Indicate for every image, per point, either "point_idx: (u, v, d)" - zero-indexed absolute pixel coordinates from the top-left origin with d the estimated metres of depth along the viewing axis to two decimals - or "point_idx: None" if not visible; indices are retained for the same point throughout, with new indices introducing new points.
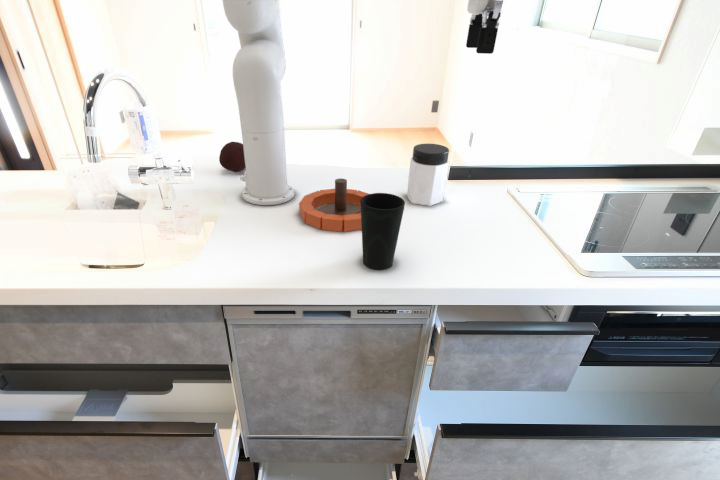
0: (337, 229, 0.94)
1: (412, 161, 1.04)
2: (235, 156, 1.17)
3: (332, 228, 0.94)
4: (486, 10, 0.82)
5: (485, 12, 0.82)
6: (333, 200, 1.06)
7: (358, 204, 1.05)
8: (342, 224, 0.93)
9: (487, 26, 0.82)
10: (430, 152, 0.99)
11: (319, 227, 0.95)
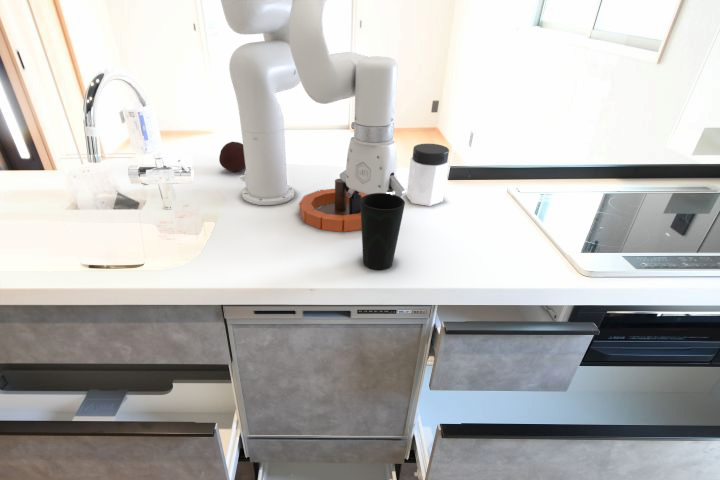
0: (337, 229, 0.94)
1: (412, 161, 1.04)
2: (235, 156, 1.17)
3: (332, 228, 0.94)
4: None
5: None
6: (333, 200, 1.06)
7: None
8: (342, 224, 0.93)
9: None
10: (430, 152, 0.99)
11: (319, 227, 0.95)
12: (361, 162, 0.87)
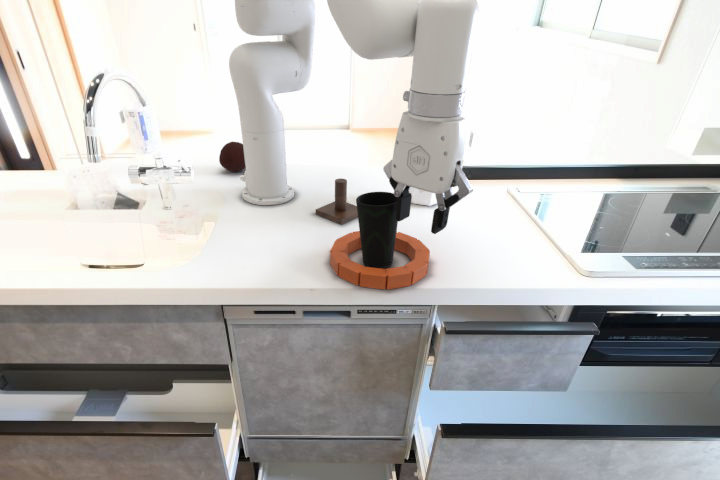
0: (379, 286, 0.76)
1: None
2: (235, 156, 1.17)
3: (373, 285, 0.76)
4: None
5: (443, 194, 0.67)
6: None
7: (399, 249, 0.87)
8: (385, 281, 0.76)
9: (446, 208, 0.68)
10: None
11: (356, 283, 0.77)
12: (417, 146, 0.64)
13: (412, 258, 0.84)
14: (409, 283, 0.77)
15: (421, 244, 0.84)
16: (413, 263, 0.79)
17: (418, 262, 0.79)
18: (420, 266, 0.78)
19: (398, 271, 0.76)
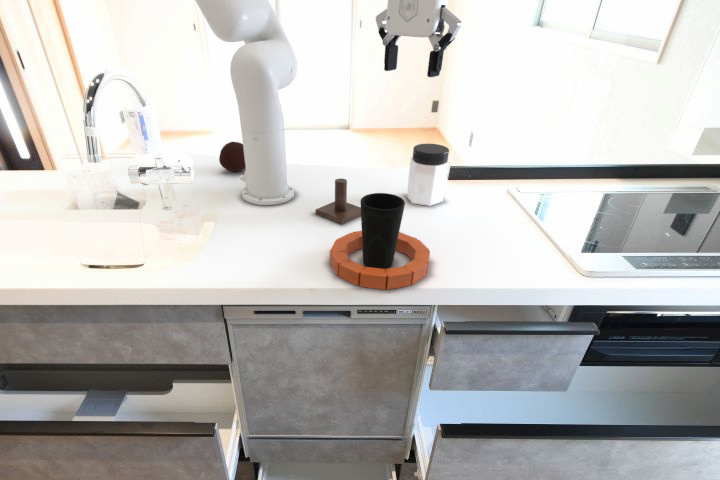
0: (379, 286, 0.76)
1: (412, 161, 1.04)
2: (235, 156, 1.17)
3: (373, 285, 0.76)
4: (434, 32, 0.76)
5: (435, 34, 0.76)
6: None
7: (399, 249, 0.87)
8: (385, 281, 0.76)
9: (440, 49, 0.77)
10: (430, 152, 0.99)
11: (356, 283, 0.77)
12: None
13: (412, 258, 0.84)
14: (409, 283, 0.77)
15: (421, 244, 0.84)
16: (413, 263, 0.79)
17: (418, 262, 0.79)
18: (420, 266, 0.78)
19: (398, 271, 0.76)
